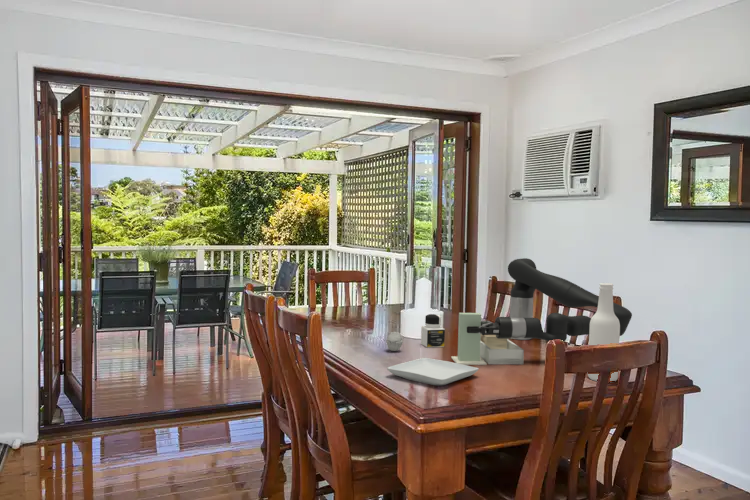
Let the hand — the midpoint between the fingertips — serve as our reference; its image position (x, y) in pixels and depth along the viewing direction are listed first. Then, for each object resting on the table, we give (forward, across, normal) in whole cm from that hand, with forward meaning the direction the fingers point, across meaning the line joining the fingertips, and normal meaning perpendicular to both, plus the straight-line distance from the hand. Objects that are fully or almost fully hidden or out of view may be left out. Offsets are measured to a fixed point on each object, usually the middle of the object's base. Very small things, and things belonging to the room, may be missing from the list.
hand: (464, 327), depth 208 cm
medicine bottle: (+6, +26, -12) cm, 29 cm away
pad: (-2, 0, -12) cm, 12 cm away
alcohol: (-39, -23, -12) cm, 47 cm away
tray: (-14, +6, -12) cm, 19 cm away
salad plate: (+14, -20, -12) cm, 27 cm away
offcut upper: (-14, +12, -7) cm, 20 cm away
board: (-2, 0, -11) cm, 11 cm away
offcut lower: (-14, +12, -10) cm, 21 cm away
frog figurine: (+22, +16, -12) cm, 30 cm away
